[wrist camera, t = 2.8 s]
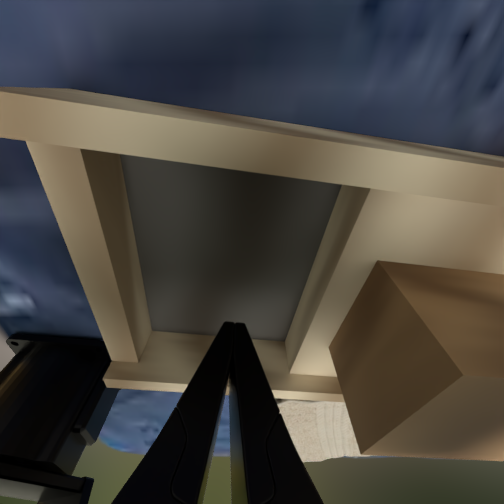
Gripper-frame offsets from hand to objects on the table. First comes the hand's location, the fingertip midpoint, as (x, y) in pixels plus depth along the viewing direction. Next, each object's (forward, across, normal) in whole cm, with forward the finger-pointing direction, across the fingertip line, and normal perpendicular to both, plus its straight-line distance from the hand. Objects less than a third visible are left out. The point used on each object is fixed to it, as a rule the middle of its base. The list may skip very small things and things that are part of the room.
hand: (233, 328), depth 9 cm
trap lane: (+4, -13, 0) cm, 14 cm away
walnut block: (+2, -8, 0) cm, 9 cm away
